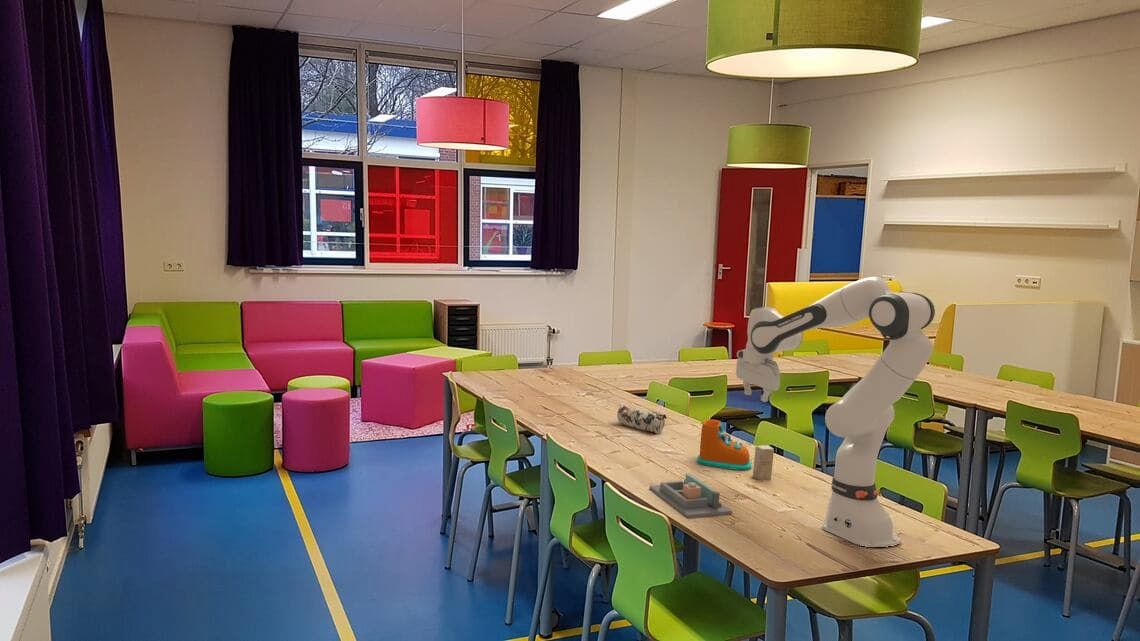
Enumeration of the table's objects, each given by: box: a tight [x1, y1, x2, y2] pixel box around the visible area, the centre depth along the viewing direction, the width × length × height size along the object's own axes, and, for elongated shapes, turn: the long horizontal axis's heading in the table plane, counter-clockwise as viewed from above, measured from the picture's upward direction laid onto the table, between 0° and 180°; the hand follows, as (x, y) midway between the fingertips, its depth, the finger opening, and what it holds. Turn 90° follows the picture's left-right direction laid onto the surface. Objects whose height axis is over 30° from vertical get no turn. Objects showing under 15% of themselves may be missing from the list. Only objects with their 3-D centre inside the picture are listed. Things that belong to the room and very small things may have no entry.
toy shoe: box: [696, 418, 753, 471], centre depth 285 cm, size 12×20×15 cm, turn 72°
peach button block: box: [683, 482, 701, 499], centre depth 240 cm, size 4×4×6 cm
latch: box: [684, 473, 717, 505], centre depth 246 cm, size 17×1×4 cm, turn 20°
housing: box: [649, 479, 733, 519], centre depth 245 cm, size 26×15×6 cm, turn 20°
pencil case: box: [616, 402, 667, 435], centre depth 329 cm, size 22×8×10 cm, turn 47°
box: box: [752, 445, 775, 480], centre depth 271 cm, size 5×4×11 cm
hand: (755, 397), depth 254 cm, fingers open, 8 cm apart
